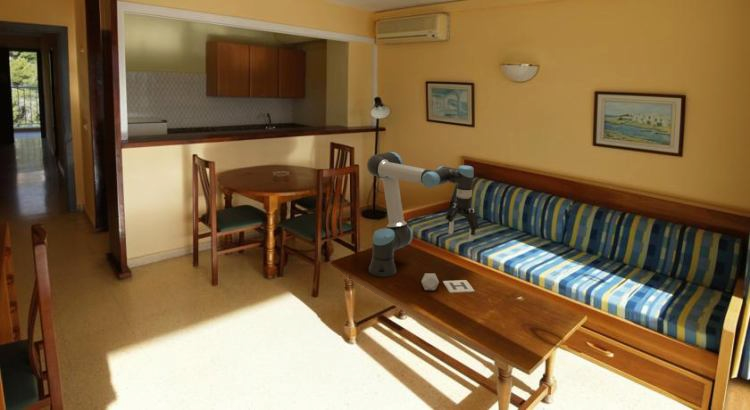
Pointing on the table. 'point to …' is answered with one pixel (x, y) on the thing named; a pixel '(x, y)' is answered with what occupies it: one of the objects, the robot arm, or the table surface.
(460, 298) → the table surface
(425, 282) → the die
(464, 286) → the board
